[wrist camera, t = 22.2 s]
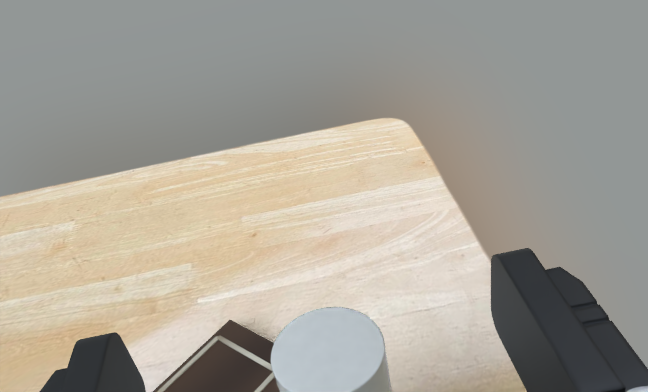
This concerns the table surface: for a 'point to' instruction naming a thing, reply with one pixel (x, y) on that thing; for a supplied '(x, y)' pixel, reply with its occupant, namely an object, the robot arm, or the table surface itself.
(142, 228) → the table surface
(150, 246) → the table surface
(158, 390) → the board
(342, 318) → the tall white cylinder
